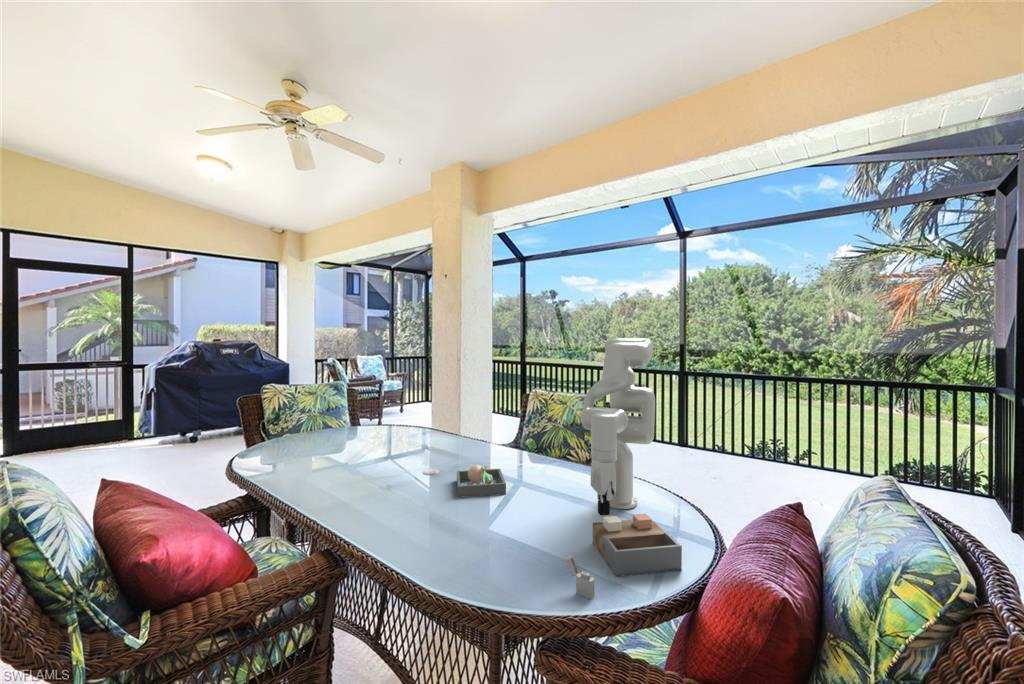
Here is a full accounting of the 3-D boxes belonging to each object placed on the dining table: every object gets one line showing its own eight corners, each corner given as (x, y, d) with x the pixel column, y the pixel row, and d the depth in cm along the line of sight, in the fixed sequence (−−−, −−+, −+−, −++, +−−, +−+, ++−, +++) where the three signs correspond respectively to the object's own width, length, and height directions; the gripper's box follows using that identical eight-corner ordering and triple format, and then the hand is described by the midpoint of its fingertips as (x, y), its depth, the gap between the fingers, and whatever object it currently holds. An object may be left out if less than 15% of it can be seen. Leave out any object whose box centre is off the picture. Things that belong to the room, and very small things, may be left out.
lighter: (594, 596, 107) (594, 563, 107) (591, 599, 106) (591, 566, 106) (568, 585, 112) (568, 554, 111) (565, 589, 110) (565, 556, 110)
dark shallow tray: (456, 480, 187) (456, 471, 187) (500, 478, 189) (500, 468, 189) (458, 497, 169) (458, 486, 169) (506, 494, 172) (505, 483, 171)
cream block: (603, 525, 131) (603, 516, 131) (616, 524, 132) (616, 515, 132) (608, 531, 127) (608, 522, 127) (621, 530, 128) (621, 521, 128)
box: (604, 560, 123) (604, 537, 123) (666, 554, 126) (666, 532, 126) (615, 576, 115) (615, 551, 115) (681, 570, 118) (681, 546, 118)
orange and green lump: (490, 478, 172) (502, 474, 179) (474, 458, 176) (487, 455, 184) (472, 499, 175) (485, 494, 183) (457, 479, 179) (471, 475, 187)
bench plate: (592, 542, 133) (592, 522, 133) (650, 538, 136) (650, 518, 135) (604, 560, 123) (604, 538, 123) (666, 554, 126) (666, 533, 126)
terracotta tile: (632, 522, 133) (632, 514, 132) (645, 521, 133) (645, 513, 133) (638, 529, 129) (638, 520, 128) (651, 528, 129) (651, 519, 129)
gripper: (584, 447, 142) (584, 505, 143) (600, 462, 128) (600, 526, 128) (607, 446, 143) (606, 503, 144) (625, 460, 129) (625, 524, 129)
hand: (603, 514), depth 136 cm, fingers closed
